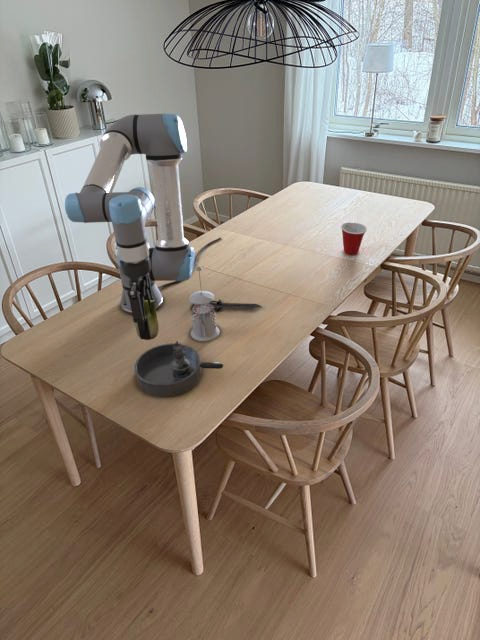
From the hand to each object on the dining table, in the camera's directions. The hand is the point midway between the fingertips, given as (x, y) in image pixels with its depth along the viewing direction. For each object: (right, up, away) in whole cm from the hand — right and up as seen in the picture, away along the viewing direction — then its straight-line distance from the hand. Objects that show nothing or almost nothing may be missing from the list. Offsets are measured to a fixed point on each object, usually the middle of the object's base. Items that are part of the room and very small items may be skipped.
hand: (148, 332), depth 132 cm
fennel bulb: (0, -2, +1) cm, 2 cm away
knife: (+21, +8, +39) cm, 45 cm away
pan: (+5, -13, +8) cm, 16 cm away
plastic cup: (+74, +32, +71) cm, 108 cm away
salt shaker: (+8, -13, +8) cm, 17 cm away
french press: (+14, -1, +25) cm, 29 cm away
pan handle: (+18, -11, +6) cm, 21 cm away
